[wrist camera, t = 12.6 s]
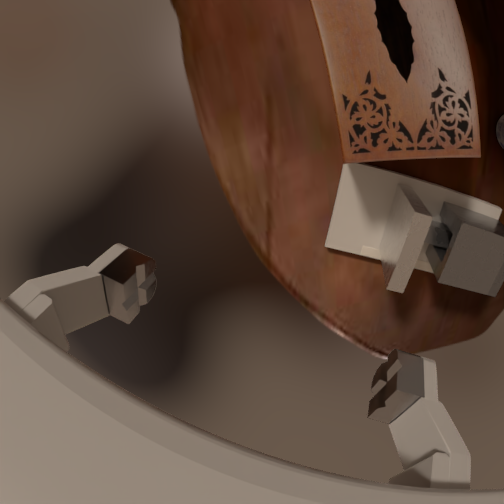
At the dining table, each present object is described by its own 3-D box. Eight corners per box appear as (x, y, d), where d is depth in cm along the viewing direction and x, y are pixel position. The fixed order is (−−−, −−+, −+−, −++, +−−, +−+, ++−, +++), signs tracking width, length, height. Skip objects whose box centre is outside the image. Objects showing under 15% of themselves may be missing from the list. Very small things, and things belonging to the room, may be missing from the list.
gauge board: (344, 158, 36) (344, 160, 35) (498, 206, 32) (502, 210, 31) (325, 242, 42) (324, 247, 41) (468, 278, 38) (471, 283, 37)
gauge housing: (443, 200, 34) (462, 222, 28) (498, 220, 32) (520, 243, 26) (425, 253, 38) (437, 282, 32) (478, 268, 36) (495, 296, 30)
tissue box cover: (449, 141, 32) (480, 157, 23) (342, 148, 36) (343, 163, 28) (408, -42, 21) (424, -74, 12) (299, -36, 25) (285, -70, 17)
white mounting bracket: (397, 183, 35) (414, 211, 26) (470, 207, 33) (501, 240, 24) (374, 258, 40) (380, 302, 32) (442, 275, 38) (461, 320, 30)
